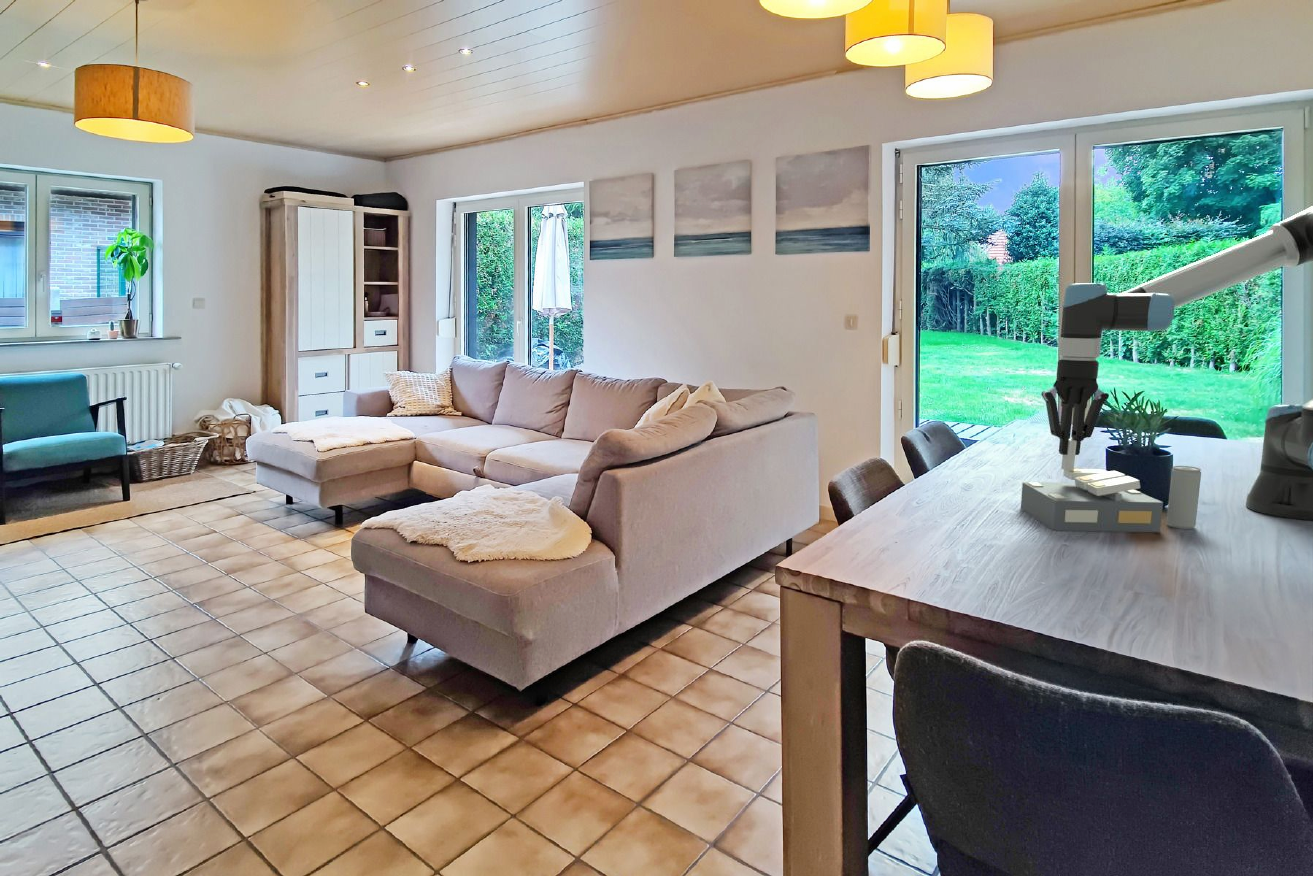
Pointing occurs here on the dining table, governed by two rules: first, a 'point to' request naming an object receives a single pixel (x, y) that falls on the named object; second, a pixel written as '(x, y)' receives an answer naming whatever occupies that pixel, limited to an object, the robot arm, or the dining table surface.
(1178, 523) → the beverage can
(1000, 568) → the dining table surface
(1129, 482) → the plate
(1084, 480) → the rocker
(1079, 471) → the rocker
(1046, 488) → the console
